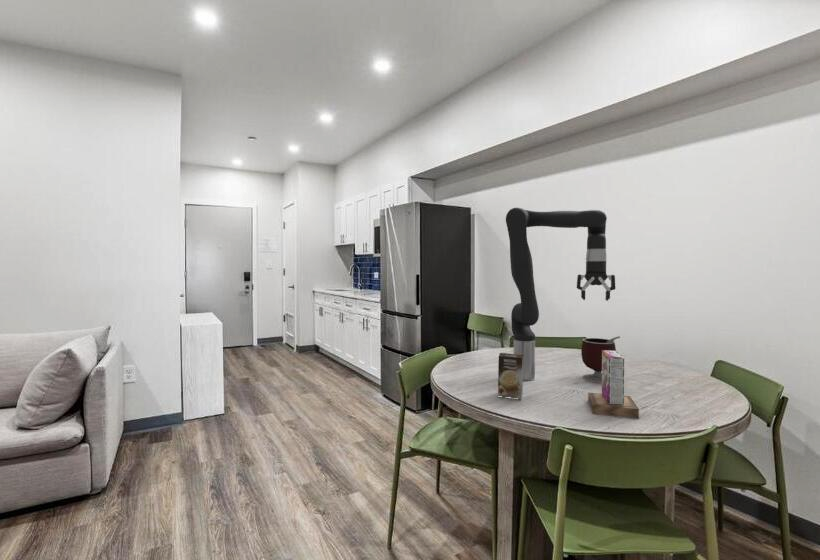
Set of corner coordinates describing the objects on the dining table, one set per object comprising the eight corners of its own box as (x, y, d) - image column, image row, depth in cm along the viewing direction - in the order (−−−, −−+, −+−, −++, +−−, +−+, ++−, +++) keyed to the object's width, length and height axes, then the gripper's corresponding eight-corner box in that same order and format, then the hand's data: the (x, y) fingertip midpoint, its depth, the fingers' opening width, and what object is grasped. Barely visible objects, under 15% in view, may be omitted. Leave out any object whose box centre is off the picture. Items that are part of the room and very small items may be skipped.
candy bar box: (600, 394, 150) (601, 349, 150) (615, 395, 149) (616, 350, 149) (608, 404, 140) (609, 356, 139) (624, 405, 138) (625, 357, 138)
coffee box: (497, 397, 156) (497, 355, 156) (499, 392, 162) (499, 352, 162) (522, 400, 153) (522, 357, 153) (523, 395, 160) (523, 354, 159)
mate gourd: (576, 379, 181) (577, 334, 180) (586, 373, 192) (587, 330, 191) (614, 386, 171) (615, 338, 170) (623, 379, 182) (624, 334, 181)
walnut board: (592, 413, 140) (592, 404, 140) (588, 400, 153) (588, 392, 153) (638, 418, 136) (638, 408, 136) (629, 404, 149) (630, 395, 149)
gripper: (578, 260, 166) (577, 300, 166) (617, 260, 161) (616, 301, 162) (576, 260, 173) (575, 298, 174) (613, 260, 169) (613, 299, 169)
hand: (595, 300), depth 168 cm, fingers open, 8 cm apart
